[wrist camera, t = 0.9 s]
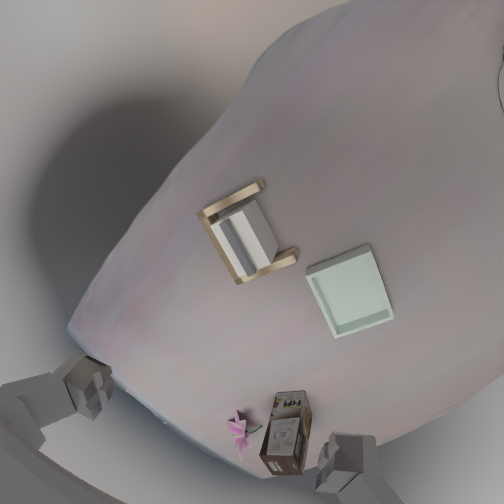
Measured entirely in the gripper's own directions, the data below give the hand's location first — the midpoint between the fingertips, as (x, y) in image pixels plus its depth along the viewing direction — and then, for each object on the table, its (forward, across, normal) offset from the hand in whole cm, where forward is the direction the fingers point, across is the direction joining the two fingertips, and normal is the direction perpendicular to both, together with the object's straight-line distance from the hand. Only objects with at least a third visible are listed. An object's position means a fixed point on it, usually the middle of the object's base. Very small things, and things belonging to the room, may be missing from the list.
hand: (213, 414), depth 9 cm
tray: (+37, -11, +12) cm, 40 cm away
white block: (+37, +6, +6) cm, 38 cm away
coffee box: (+38, -9, +42) cm, 57 cm away
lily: (+38, 0, +53) cm, 66 cm away
